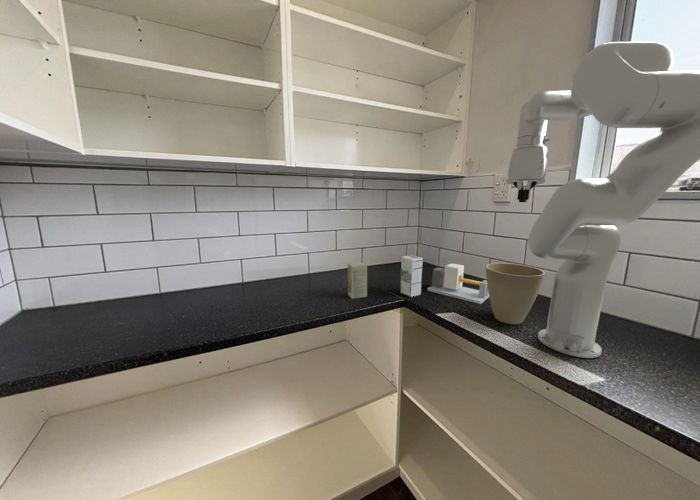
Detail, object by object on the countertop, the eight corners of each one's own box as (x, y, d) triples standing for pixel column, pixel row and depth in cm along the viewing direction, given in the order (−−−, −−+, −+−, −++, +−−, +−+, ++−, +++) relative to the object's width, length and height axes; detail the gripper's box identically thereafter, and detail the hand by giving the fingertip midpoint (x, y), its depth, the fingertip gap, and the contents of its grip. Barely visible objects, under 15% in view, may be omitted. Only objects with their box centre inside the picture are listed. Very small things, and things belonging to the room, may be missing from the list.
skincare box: (363, 293, 105) (363, 262, 102) (367, 297, 101) (368, 264, 98) (347, 294, 103) (347, 263, 100) (350, 299, 99) (351, 266, 96)
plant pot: (490, 305, 94) (495, 260, 91) (542, 319, 84) (549, 269, 81) (472, 318, 84) (478, 268, 81) (529, 336, 73) (537, 279, 70)
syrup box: (421, 294, 104) (423, 257, 101) (410, 297, 101) (412, 259, 98) (410, 290, 109) (412, 254, 106) (399, 293, 105) (401, 256, 103)
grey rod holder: (486, 305, 94) (489, 283, 93) (427, 290, 109) (428, 271, 107) (496, 296, 103) (499, 276, 101) (440, 284, 117) (441, 265, 116)
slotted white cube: (456, 290, 104) (458, 268, 102) (443, 287, 107) (445, 265, 105) (462, 286, 108) (464, 265, 106) (449, 283, 111) (451, 263, 110)
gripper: (560, 142, 85) (551, 202, 88) (507, 147, 95) (500, 201, 98) (557, 138, 80) (548, 202, 83) (501, 144, 89) (494, 201, 93)
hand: (522, 202), depth 91 cm, fingers closed
